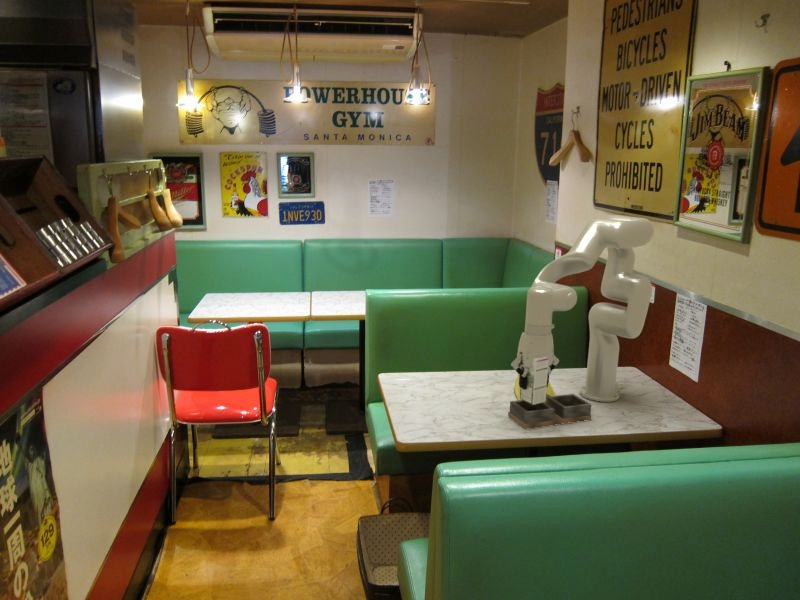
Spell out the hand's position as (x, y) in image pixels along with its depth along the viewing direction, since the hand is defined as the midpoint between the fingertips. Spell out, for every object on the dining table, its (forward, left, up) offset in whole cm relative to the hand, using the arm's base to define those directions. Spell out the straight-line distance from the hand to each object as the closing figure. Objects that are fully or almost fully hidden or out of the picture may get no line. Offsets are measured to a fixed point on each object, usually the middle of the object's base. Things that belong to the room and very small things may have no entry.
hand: (533, 386), depth 203 cm
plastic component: (-13, -19, -11) cm, 26 cm away
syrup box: (0, 0, -5) cm, 5 cm away
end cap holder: (-7, 0, -11) cm, 13 cm away
